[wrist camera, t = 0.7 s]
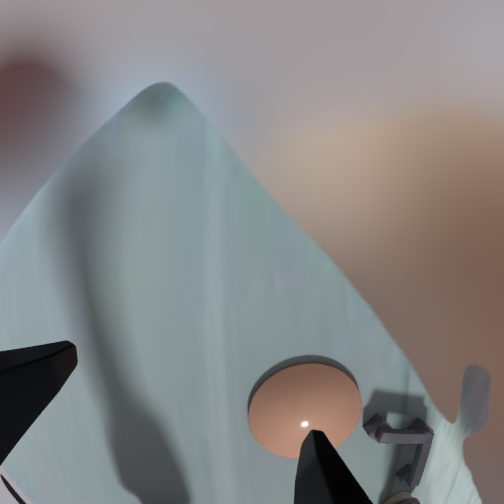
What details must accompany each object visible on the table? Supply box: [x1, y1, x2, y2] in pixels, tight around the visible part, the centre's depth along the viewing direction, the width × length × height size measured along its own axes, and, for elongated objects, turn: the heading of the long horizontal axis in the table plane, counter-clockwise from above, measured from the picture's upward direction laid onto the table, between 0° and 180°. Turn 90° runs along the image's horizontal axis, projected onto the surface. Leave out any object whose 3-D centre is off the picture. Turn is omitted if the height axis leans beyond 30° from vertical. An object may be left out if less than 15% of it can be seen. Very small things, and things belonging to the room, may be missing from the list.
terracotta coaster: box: [248, 363, 361, 459], centre depth 22 cm, size 11×11×1 cm
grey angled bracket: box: [363, 414, 434, 488], centre depth 20 cm, size 7×13×3 cm, turn 46°
